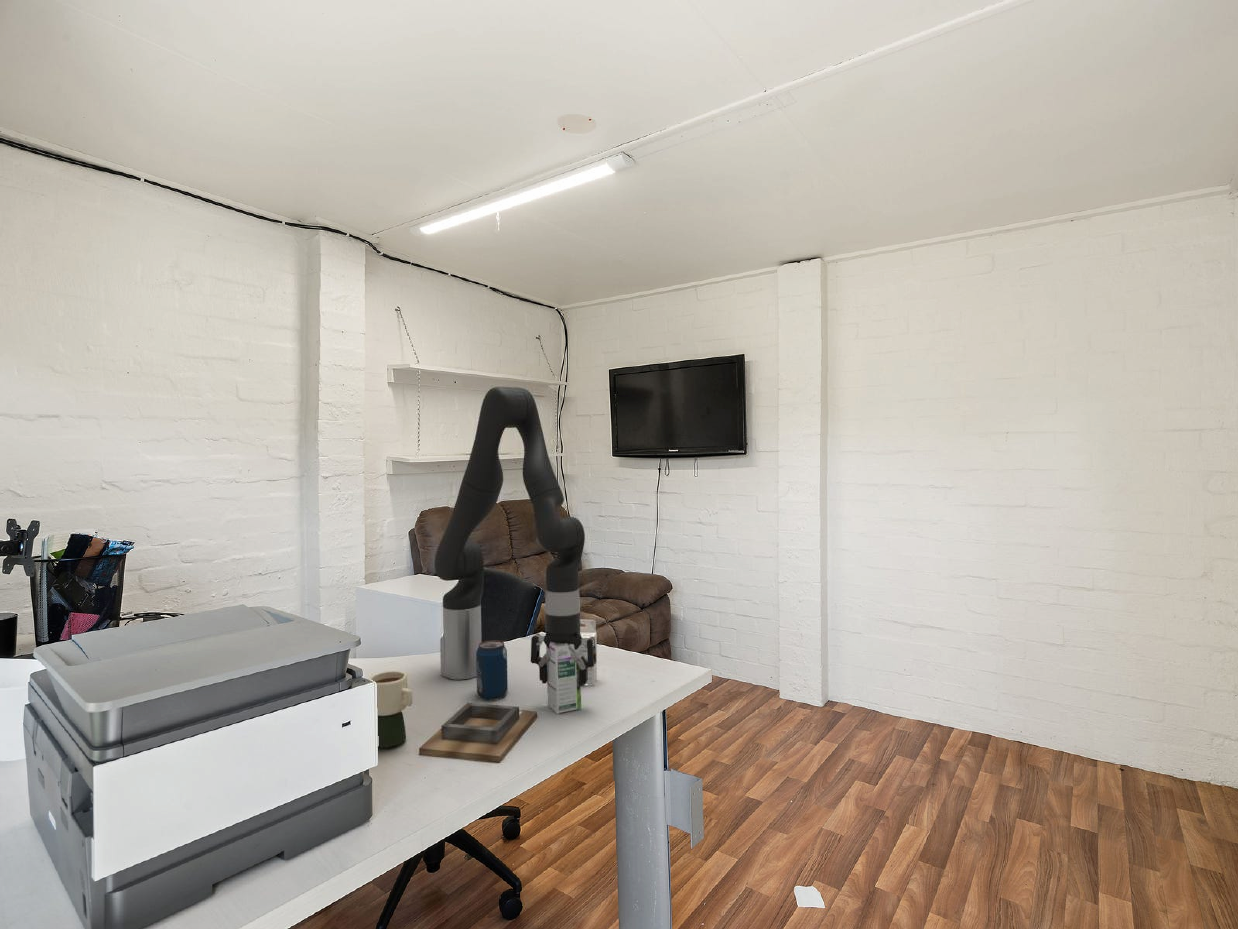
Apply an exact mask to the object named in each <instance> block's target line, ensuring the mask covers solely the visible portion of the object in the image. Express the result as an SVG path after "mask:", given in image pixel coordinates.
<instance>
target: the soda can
mask: <svg viewBox="0 0 1238 929" xmlns="http://www.w3.org/2000/svg"><path fill="white" fill-rule="evenodd" d="M508 679H509V678H508V650H507V648H506V646H505V642H504V641H502V640H497V639H496V640H495V639H494V640H493V639H492V640H491V639H490V640H485V641H481V643H480V644H479V647H478V649H477V652H476V694H477V695H478V697H479V698H480V699H481V700H482V699H483V701H487V702H488V701H489V702H490V701H491V700H493V701H498V700H500V698H501V699H503V698H504V697H505V696H506V694H507V692H508V689H509V688H508V685H509V684H508ZM502 697H503V698H502ZM497 699H498V700H497Z"/></svg>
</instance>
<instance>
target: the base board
mask: <svg viewBox="0 0 1238 929" xmlns="http://www.w3.org/2000/svg"><path fill="white" fill-rule="evenodd" d="M537 718H538V711H537V710H525V709H520V706H513V705H503V704H502V705H501V704H500V705H499V704H488V703H487V704H486V703H474V702H467V703H465V704H464V705H463V706H461V708H460V709H459V710H458V711H457V712H455V713H454V714H453V715H452V716H451V717H450V718H448V720H446V721H445V722H444V723H443V724H442V725H441V726H440V727H441V728H439V730H437V731H436V733H434V734H433V735H432V736H431V737H430V738H429V739H427V741H425V742H424V743H423V744H422V745H420V746H419V748H418V750H419V751H418V754H419V755H421V756H429V757H430V756H433V757H441V758H450V759H460V760H461V759H462V760H470V761H481V762H490V763H491V762H492V763H501V762H502V761H503V759H505V757H506V756H507V755H508V753H510V751H511V750H512V749H513V747H514V746H515V745H516V744H517V743H518V742H519V740H520V739H521V737H522V736H523V735H524V734H525V733H526V732H527V730H528V729H529V728H530V727H531V726H532V724H533V723H534V722H535V720H536V719H537Z"/></svg>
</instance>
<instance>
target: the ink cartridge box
mask: <svg viewBox="0 0 1238 929" xmlns="http://www.w3.org/2000/svg"><path fill="white" fill-rule="evenodd" d="M596 624H597V623H596V620H595V619H582V618H580V625H585V626H580V634H581V637H582V638H590V637H594V638H595V647H596V663H595V664H594V666H593V667H589V668H588V680H587V682H586V684H588V685H594V684H596V682H595V681H597V678H598V671H597V669H598V668H597V667H598V666H597V663H598V661H597V659H598V658H597V656H598V655H597V653H598V647H597V646H598V645H597V644H598V642H597V638H598V636H597V630H596V629H597V625H596ZM580 650H581V651H582V653H583V655H584V657H585V658H586V660H588V654H587V649H586V648H585V647H584V644H581V645H580ZM580 669H581V668H580ZM594 686H595V685H594Z"/></svg>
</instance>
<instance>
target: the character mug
mask: <svg viewBox="0 0 1238 929" xmlns="http://www.w3.org/2000/svg"><path fill="white" fill-rule="evenodd" d="M369 679H370V680H373V681H375V682H376V684H377V708H378V736H379V747H378V748H390V747H392V746H396V745H398V744H401V743H402V742H404V741H406V740H407V734H406V725H405V719H404V713H403V712H402V711H404V710H405V709H406V708H407V707H410V706H411V707H412V704H413V690H412V689H411V688H409V686H408V674H407V673H406V672H405V671H402V670H388V671H381V672H378V673H374V674H373V675H371V676H369V677H368V680H369Z"/></svg>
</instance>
